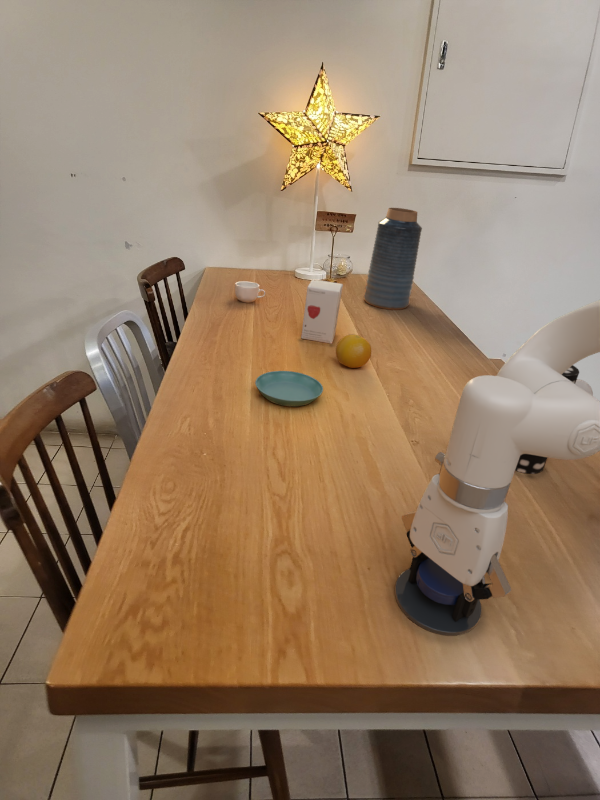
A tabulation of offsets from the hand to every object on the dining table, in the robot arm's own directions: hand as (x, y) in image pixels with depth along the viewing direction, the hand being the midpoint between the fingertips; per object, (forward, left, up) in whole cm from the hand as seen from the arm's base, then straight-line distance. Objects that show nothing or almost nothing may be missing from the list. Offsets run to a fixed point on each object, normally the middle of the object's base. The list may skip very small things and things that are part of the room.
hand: (438, 595), depth 69 cm
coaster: (0, 0, -1) cm, 1 cm away
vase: (+4, -136, -1) cm, 136 cm away
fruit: (+14, -74, -1) cm, 75 cm away
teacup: (+49, -116, -1) cm, 126 cm away
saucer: (+27, -52, -1) cm, 59 cm away
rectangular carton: (+24, -92, -1) cm, 95 cm away
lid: (0, 0, +3) cm, 3 cm away
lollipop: (-29, -47, -1) cm, 55 cm away
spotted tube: (-20, -39, -1) cm, 44 cm away
